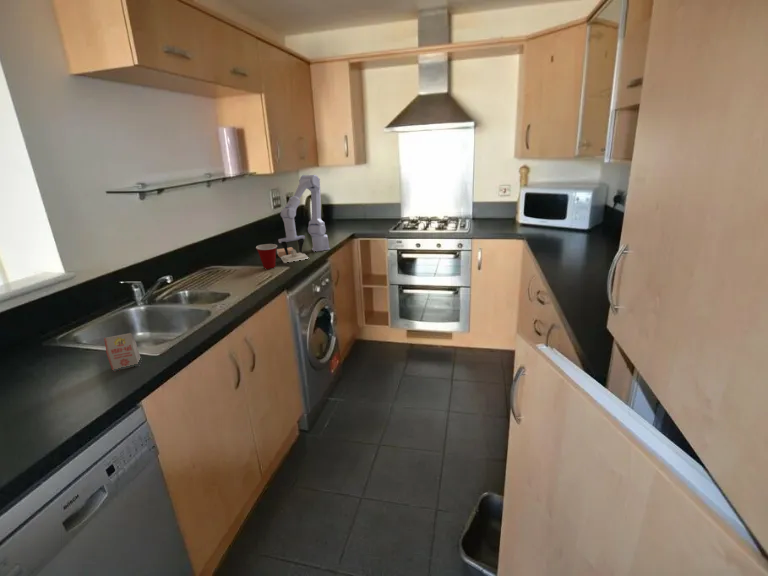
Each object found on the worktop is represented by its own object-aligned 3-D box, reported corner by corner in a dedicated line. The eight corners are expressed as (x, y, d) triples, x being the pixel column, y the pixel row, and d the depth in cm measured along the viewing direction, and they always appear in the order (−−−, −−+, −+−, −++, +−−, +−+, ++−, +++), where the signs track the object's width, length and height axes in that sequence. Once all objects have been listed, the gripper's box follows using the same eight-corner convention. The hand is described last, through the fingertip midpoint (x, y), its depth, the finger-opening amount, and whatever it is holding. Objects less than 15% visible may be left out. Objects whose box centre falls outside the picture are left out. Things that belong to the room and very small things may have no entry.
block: (292, 251, 244) (291, 247, 243) (294, 254, 236) (294, 250, 235) (277, 254, 241) (276, 249, 240) (279, 257, 233) (278, 252, 232)
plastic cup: (273, 271, 205) (269, 248, 201) (255, 270, 209) (251, 248, 205) (284, 265, 215) (281, 243, 211) (267, 264, 219) (263, 243, 215)
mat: (304, 254, 236) (304, 253, 236) (309, 259, 224) (309, 258, 223) (280, 257, 231) (280, 257, 231) (284, 263, 219) (284, 262, 219)
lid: (300, 254, 235) (299, 247, 234) (306, 257, 226) (305, 250, 224) (282, 257, 230) (281, 250, 229) (287, 261, 221) (286, 253, 219)
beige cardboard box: (116, 365, 119) (106, 335, 116) (141, 360, 121) (132, 330, 118) (112, 371, 116) (102, 340, 112) (138, 366, 118) (129, 335, 114)
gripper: (301, 226, 228) (304, 250, 233) (275, 230, 223) (279, 254, 227) (304, 228, 222) (308, 252, 227) (278, 232, 217) (282, 256, 221)
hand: (294, 253), depth 227 cm, fingers open, 7 cm apart
